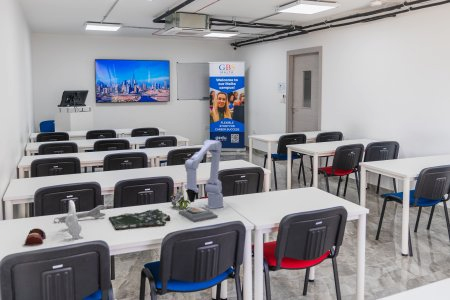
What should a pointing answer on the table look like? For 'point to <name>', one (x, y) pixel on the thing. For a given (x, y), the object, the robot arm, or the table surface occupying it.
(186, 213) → the grey stepped slab
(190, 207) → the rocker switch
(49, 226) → the table surface
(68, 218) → the grey figurine
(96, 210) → the wrench
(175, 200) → the passion flower
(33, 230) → the dark brown rounded lump
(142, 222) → the topographical map
